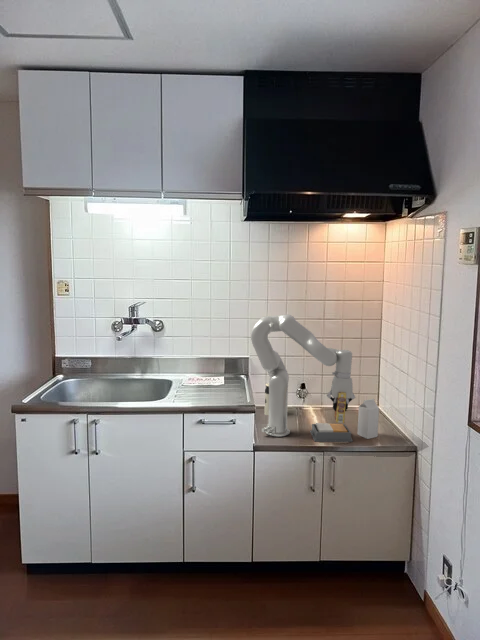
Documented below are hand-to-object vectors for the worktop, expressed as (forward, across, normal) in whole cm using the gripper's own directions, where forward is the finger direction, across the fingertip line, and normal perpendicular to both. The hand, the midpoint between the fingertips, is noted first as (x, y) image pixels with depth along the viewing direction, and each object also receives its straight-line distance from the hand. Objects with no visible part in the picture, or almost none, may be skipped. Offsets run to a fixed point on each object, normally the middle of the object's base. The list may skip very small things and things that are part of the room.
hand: (340, 410), depth 242 cm
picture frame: (+10, -4, 0) cm, 10 cm away
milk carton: (+14, +16, +2) cm, 21 cm away
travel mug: (+16, -31, +34) cm, 49 cm away
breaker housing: (+14, -4, 0) cm, 15 cm away
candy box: (+6, 0, 0) cm, 6 cm away
